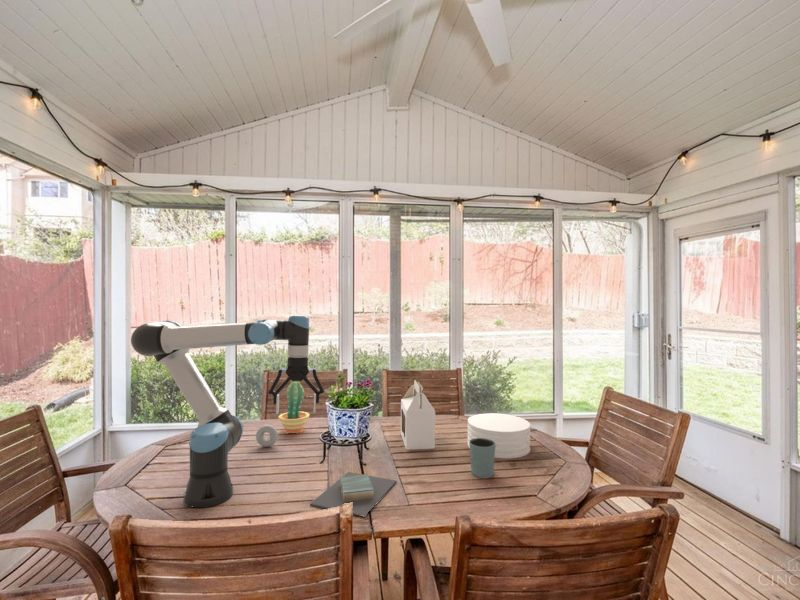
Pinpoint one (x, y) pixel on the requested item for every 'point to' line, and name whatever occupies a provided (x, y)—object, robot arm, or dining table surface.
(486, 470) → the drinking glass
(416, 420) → the gable box
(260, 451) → the dining table surface
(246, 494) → the dining table surface
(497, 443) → the plate stack
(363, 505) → the rubber mat
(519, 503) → the dining table surface
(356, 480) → the birch tile
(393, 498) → the dining table surface
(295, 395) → the potted cactus
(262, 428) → the donut
